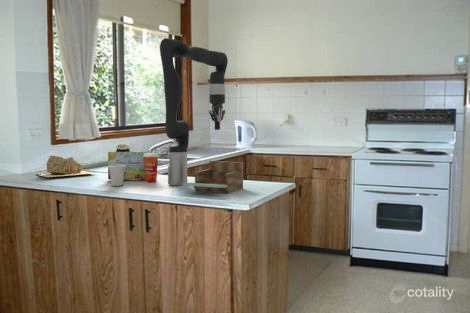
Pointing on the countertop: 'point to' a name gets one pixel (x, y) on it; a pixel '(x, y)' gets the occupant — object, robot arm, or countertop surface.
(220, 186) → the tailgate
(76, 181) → the countertop surface
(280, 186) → the countertop surface
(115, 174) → the dixie cup
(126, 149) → the travel mug
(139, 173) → the snack box
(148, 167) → the coffee cup
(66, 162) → the bread loaf on board
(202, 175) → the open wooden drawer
